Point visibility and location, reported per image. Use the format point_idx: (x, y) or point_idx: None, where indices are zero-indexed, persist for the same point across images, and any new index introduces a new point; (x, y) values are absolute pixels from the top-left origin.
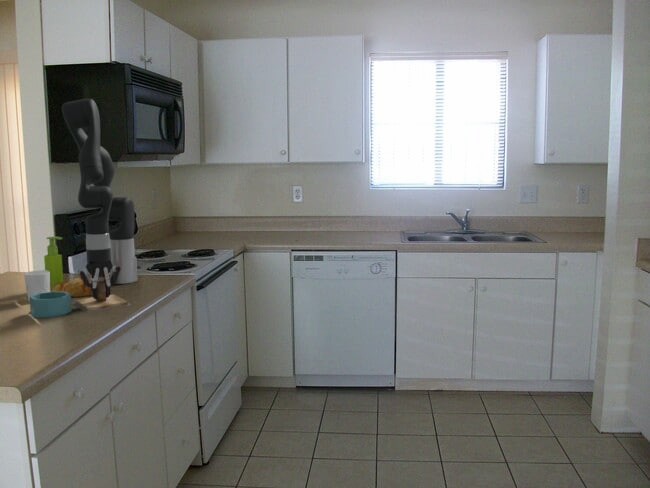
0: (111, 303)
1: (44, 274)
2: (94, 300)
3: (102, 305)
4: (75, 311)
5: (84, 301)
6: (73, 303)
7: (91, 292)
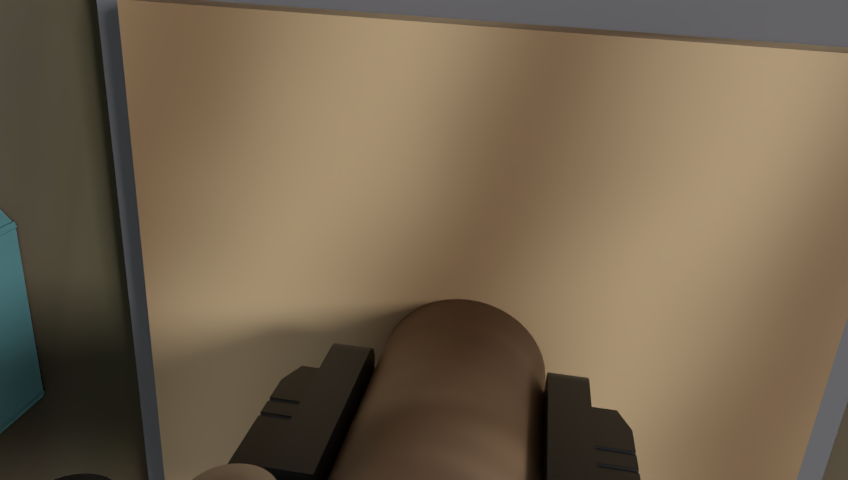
0: None
1: None
2: (379, 278)
3: None
4: (93, 366)
5: (223, 230)
6: (108, 20)
7: (257, 425)
